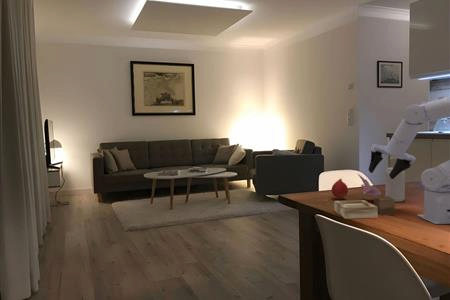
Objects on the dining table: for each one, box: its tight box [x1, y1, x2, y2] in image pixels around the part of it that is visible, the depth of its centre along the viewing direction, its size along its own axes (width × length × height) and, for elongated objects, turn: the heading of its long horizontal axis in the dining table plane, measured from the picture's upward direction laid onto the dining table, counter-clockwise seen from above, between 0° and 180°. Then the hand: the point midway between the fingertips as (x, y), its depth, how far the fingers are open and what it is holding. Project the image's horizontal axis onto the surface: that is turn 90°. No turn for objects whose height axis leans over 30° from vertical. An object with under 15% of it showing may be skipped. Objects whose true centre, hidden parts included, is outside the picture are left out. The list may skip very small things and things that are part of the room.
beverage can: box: [384, 167, 406, 203], centre depth 136 cm, size 6×6×12 cm
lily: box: [357, 173, 382, 200], centre depth 135 cm, size 12×12×10 cm
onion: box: [331, 178, 349, 201], centre depth 139 cm, size 6×6×8 cm
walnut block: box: [373, 195, 395, 216], centre depth 119 cm, size 4×4×5 cm
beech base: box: [333, 199, 379, 220], centre depth 118 cm, size 10×10×3 cm
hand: (380, 174), depth 124 cm, fingers open, 7 cm apart
